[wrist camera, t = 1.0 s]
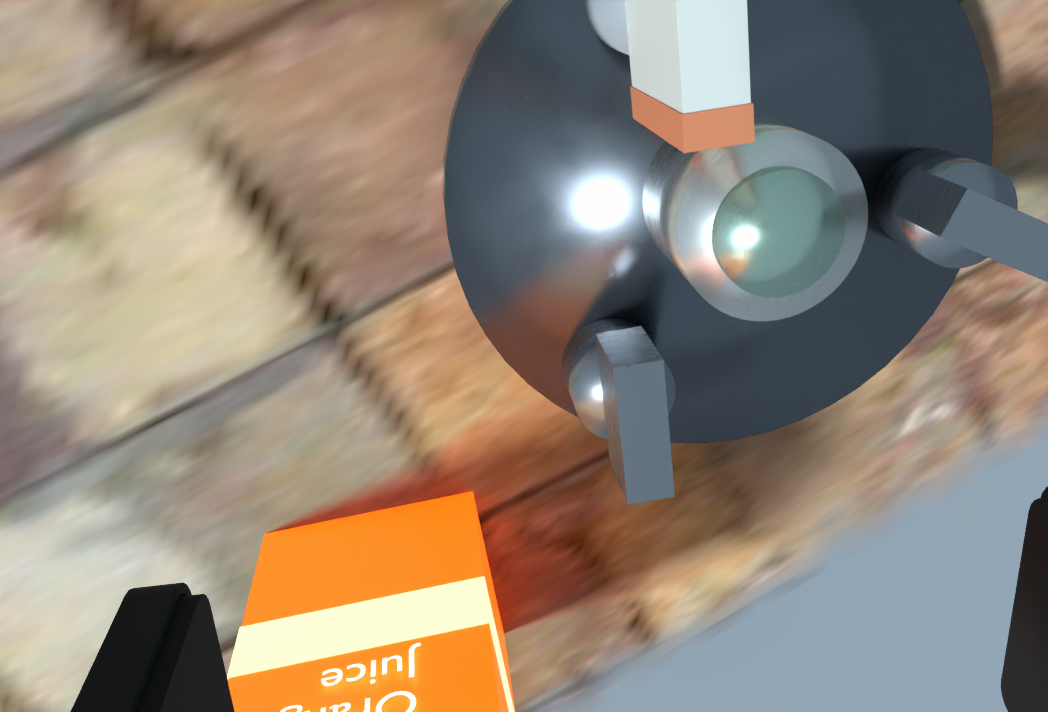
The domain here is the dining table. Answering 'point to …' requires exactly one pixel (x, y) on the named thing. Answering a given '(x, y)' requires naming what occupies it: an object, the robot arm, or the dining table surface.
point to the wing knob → (684, 67)
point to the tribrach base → (589, 183)
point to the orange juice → (374, 617)
